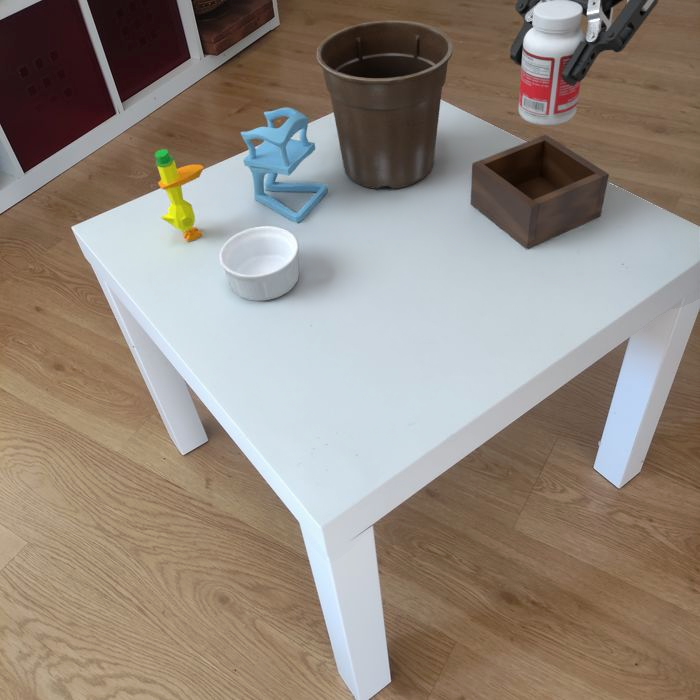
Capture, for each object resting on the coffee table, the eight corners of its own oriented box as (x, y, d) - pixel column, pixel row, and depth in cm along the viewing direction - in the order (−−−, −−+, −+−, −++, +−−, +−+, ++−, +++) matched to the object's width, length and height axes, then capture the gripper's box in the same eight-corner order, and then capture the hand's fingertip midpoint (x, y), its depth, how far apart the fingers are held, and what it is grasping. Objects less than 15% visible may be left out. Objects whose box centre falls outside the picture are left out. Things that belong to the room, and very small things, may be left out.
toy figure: (211, 218, 92) (188, 133, 84) (224, 230, 90) (202, 144, 82) (163, 239, 90) (135, 154, 81) (176, 253, 88) (147, 167, 79)
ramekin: (287, 310, 79) (281, 280, 76) (214, 299, 81) (205, 270, 78) (314, 260, 85) (309, 230, 81) (244, 251, 87) (237, 221, 84)
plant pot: (474, 156, 97) (480, 36, 86) (401, 215, 89) (396, 91, 78) (380, 124, 105) (374, 10, 94) (305, 175, 97) (288, 58, 86)
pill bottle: (573, 98, 80) (587, -6, 72) (578, 126, 76) (594, 20, 68) (516, 100, 81) (524, -2, 73) (518, 128, 77) (527, 23, 69)
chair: (276, 178, 98) (261, 94, 89) (329, 190, 94) (319, 104, 86) (244, 209, 93) (225, 124, 84) (299, 223, 90) (285, 136, 81)
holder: (540, 175, 93) (545, 134, 89) (600, 216, 86) (609, 174, 82) (470, 204, 90) (472, 163, 85) (526, 249, 83) (531, 207, 78)
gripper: (561, -124, 71) (472, 35, 75) (691, -101, 63) (584, 77, 67) (588, -79, 77) (504, 67, 81) (710, -52, 69) (611, 109, 73)
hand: (541, 71), depth 74 cm, fingers closed on pill bottle, 6 cm apart
